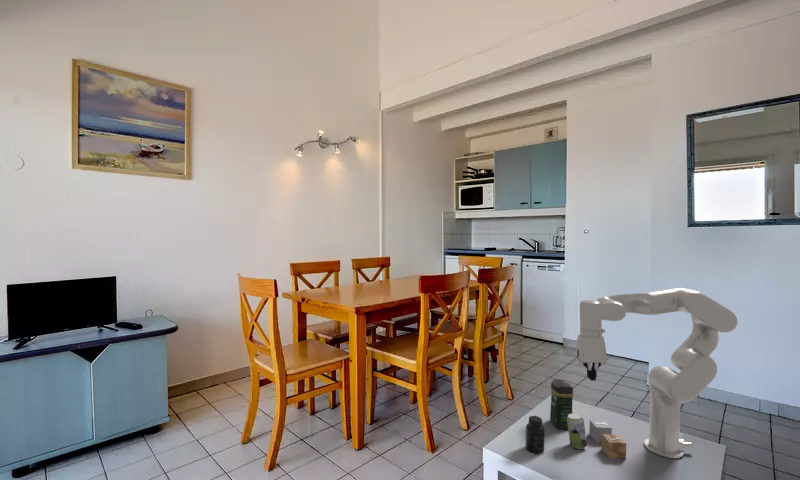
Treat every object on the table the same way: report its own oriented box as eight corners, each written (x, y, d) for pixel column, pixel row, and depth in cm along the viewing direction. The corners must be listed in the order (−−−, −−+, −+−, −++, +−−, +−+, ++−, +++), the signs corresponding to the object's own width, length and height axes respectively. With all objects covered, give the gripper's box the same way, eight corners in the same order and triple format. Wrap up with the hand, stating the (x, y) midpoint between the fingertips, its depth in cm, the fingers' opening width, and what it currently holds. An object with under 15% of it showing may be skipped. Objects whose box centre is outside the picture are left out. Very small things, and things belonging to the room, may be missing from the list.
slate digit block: (604, 435, 158) (604, 420, 158) (611, 443, 152) (611, 427, 152) (589, 434, 159) (589, 419, 158) (595, 442, 153) (596, 426, 152)
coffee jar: (575, 430, 161) (576, 386, 161) (556, 430, 161) (557, 386, 161) (565, 419, 171) (566, 377, 171) (547, 418, 171) (548, 377, 171)
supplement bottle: (521, 445, 149) (522, 414, 149) (537, 443, 150) (538, 413, 150) (531, 455, 142) (532, 423, 142) (548, 453, 144) (548, 422, 143)
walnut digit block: (617, 450, 147) (618, 434, 147) (625, 459, 141) (626, 442, 141) (601, 449, 148) (602, 433, 147) (609, 458, 142) (609, 441, 141)
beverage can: (588, 452, 145) (589, 420, 145) (568, 449, 147) (569, 418, 147) (584, 443, 152) (585, 412, 151) (564, 440, 153) (565, 410, 153)
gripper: (605, 329, 153) (606, 375, 153) (567, 330, 154) (568, 376, 154) (615, 334, 145) (616, 382, 146) (575, 335, 146) (576, 383, 147)
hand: (591, 379), depth 150 cm, fingers closed
